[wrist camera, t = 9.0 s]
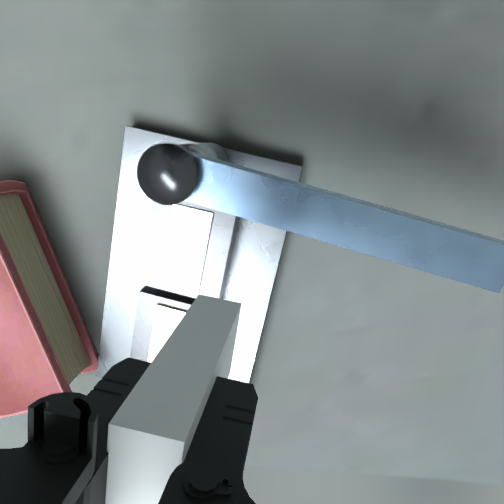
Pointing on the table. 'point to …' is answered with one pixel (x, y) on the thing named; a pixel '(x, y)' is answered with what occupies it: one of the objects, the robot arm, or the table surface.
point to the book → (35, 310)
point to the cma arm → (321, 215)
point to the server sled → (184, 260)
